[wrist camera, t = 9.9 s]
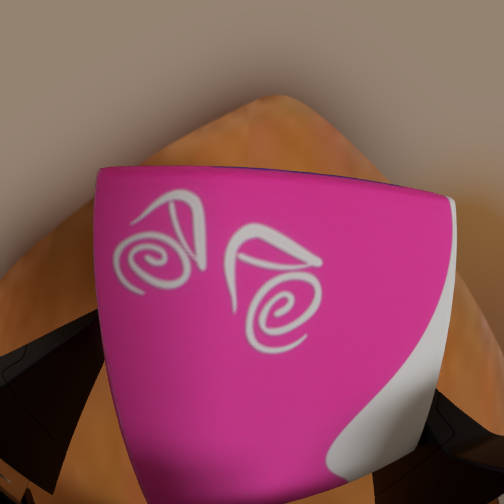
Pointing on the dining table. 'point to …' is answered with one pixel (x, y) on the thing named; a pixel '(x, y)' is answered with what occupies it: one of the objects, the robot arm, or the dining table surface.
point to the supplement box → (268, 325)
